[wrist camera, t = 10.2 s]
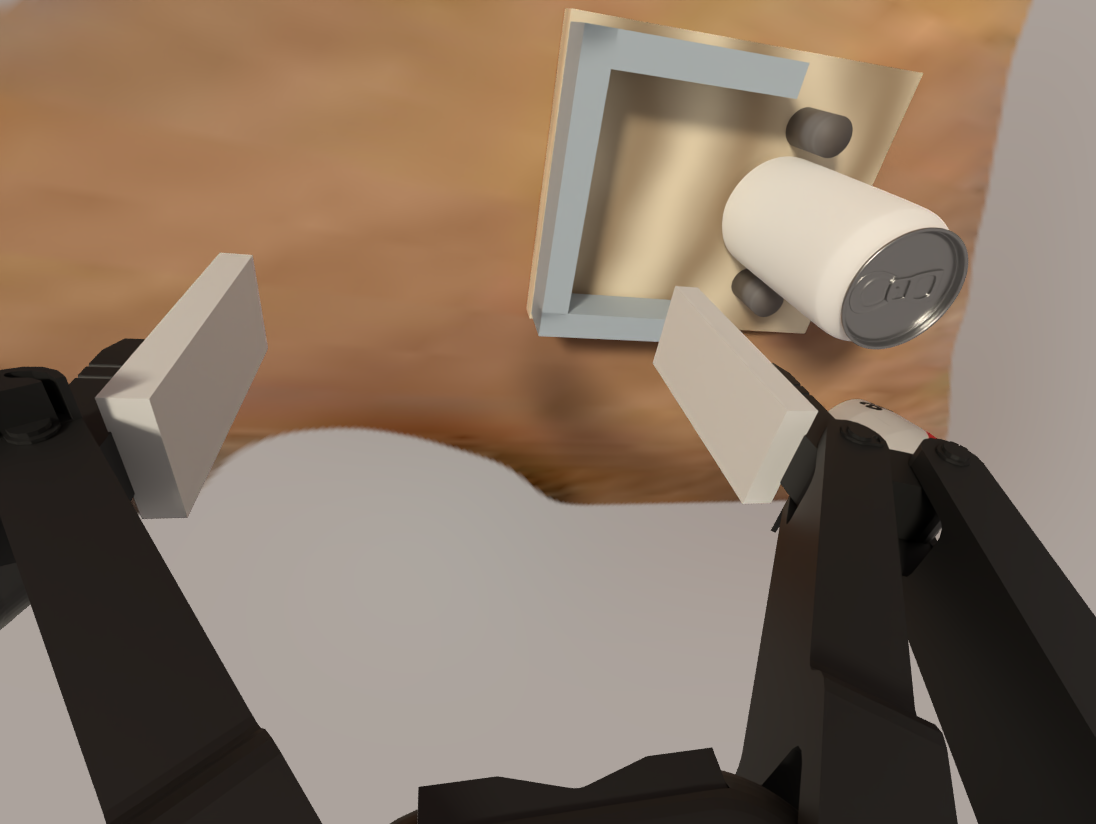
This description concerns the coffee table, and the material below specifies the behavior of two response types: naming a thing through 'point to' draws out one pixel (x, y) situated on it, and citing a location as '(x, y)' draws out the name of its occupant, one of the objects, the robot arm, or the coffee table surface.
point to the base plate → (711, 168)
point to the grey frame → (576, 152)
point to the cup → (882, 424)
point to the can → (844, 251)
